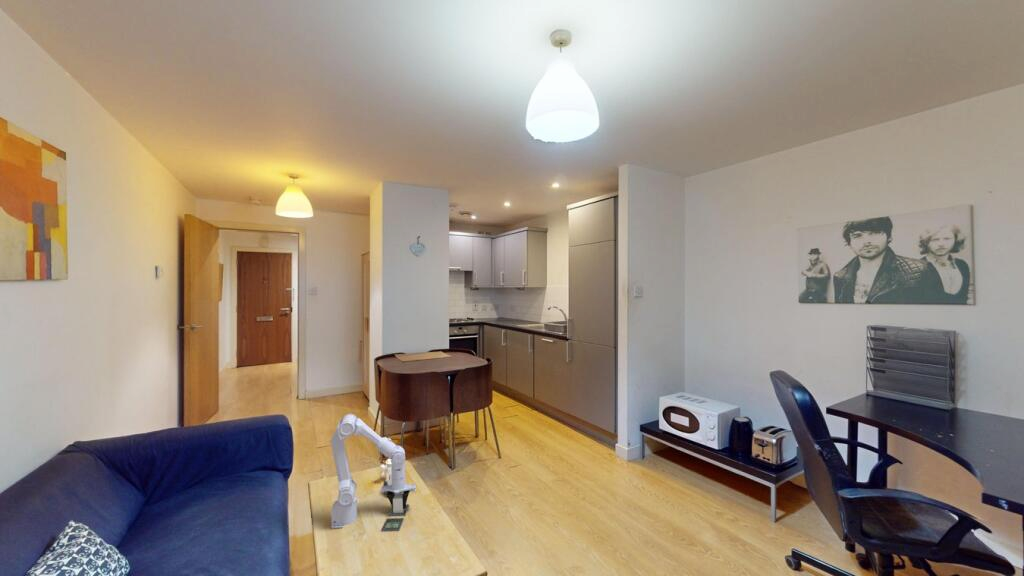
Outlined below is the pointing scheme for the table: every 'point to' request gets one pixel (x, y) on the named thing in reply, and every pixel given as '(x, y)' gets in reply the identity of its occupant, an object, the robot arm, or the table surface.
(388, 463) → the blocky character figurine
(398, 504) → the plug
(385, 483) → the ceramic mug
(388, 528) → the panel
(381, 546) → the table surface
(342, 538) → the table surface
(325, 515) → the table surface
